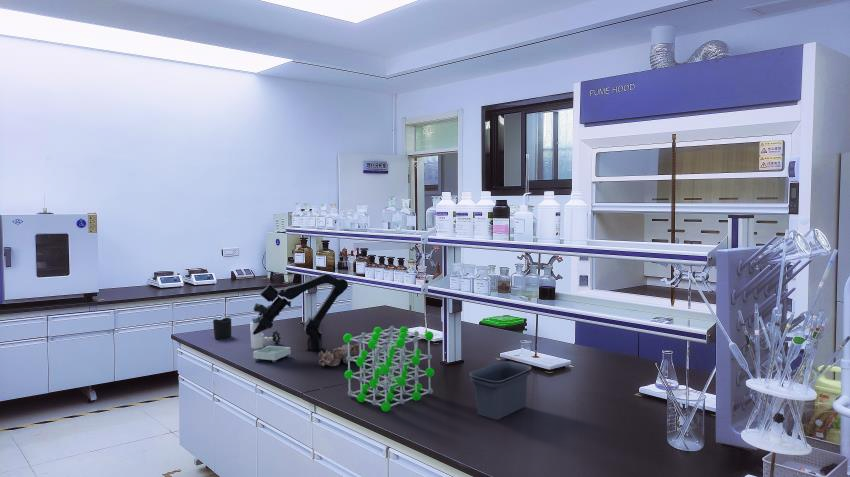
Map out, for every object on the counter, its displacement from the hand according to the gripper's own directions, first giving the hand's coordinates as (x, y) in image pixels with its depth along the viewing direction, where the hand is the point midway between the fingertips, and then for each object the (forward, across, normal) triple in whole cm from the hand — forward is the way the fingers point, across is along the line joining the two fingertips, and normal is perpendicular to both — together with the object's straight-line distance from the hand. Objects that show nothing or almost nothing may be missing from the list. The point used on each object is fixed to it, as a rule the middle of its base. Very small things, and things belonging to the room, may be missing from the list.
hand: (253, 332), depth 275 cm
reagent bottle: (+4, 0, +6) cm, 7 cm away
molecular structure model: (-24, +81, +40) cm, 93 cm away
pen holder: (+18, -47, -2) cm, 51 cm away
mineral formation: (-18, +28, +34) cm, 48 cm away
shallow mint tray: (+2, +10, +13) cm, 17 cm away
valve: (+3, -18, +13) cm, 23 cm away
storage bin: (-46, +109, +62) cm, 133 cm away
